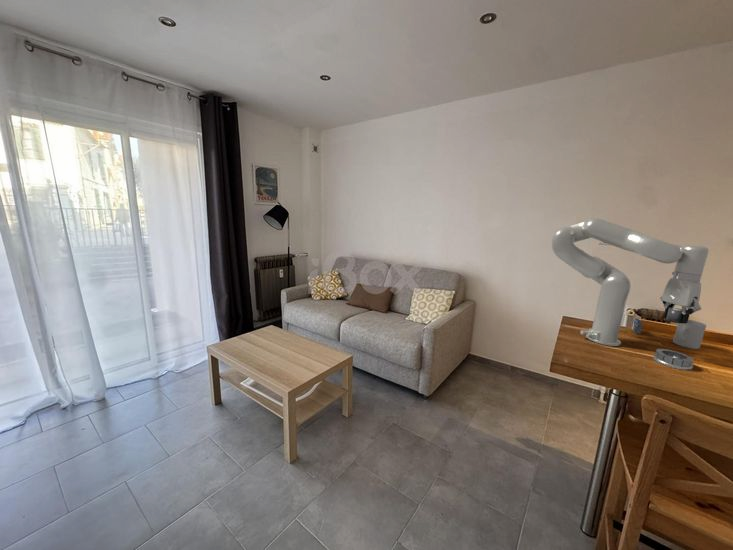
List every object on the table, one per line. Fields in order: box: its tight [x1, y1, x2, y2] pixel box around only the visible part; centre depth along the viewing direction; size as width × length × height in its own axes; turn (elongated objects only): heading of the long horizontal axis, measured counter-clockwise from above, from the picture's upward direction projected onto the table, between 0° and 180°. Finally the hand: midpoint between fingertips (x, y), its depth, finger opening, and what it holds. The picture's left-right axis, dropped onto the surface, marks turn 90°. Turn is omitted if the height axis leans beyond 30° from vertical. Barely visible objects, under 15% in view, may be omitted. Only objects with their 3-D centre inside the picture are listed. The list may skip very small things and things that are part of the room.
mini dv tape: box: [630, 318, 644, 336], centre depth 148 cm, size 8×2×6 cm, turn 152°
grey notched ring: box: [652, 348, 694, 371], centre depth 116 cm, size 11×11×4 cm
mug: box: [672, 319, 707, 350], centre depth 133 cm, size 12×8×11 cm
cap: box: [665, 307, 683, 324], centre depth 120 cm, size 5×5×5 cm
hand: (674, 320), depth 120 cm, fingers closed on cap, 5 cm apart
